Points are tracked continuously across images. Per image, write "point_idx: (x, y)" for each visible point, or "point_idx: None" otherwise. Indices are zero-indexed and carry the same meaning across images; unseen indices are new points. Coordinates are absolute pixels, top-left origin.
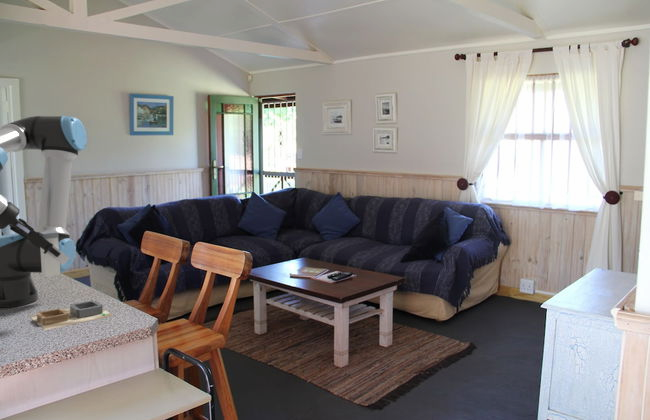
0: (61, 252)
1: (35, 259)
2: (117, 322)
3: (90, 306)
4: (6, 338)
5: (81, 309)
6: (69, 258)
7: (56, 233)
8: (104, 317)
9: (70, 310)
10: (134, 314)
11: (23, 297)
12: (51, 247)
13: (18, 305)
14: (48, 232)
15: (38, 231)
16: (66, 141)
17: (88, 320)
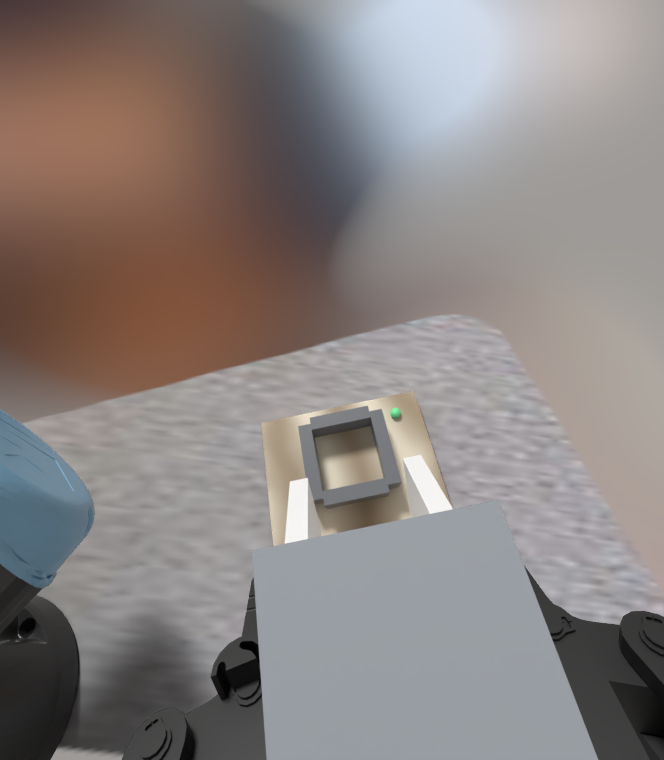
0: (449, 508)
1: None
2: (439, 391)
3: (314, 440)
4: None
5: (391, 473)
6: (421, 458)
7: (508, 534)
8: (422, 417)
9: (329, 507)
10: (385, 343)
11: (51, 670)
12: (580, 625)
13: (74, 687)
14: (443, 692)
15: None
16: None
17: (432, 464)
